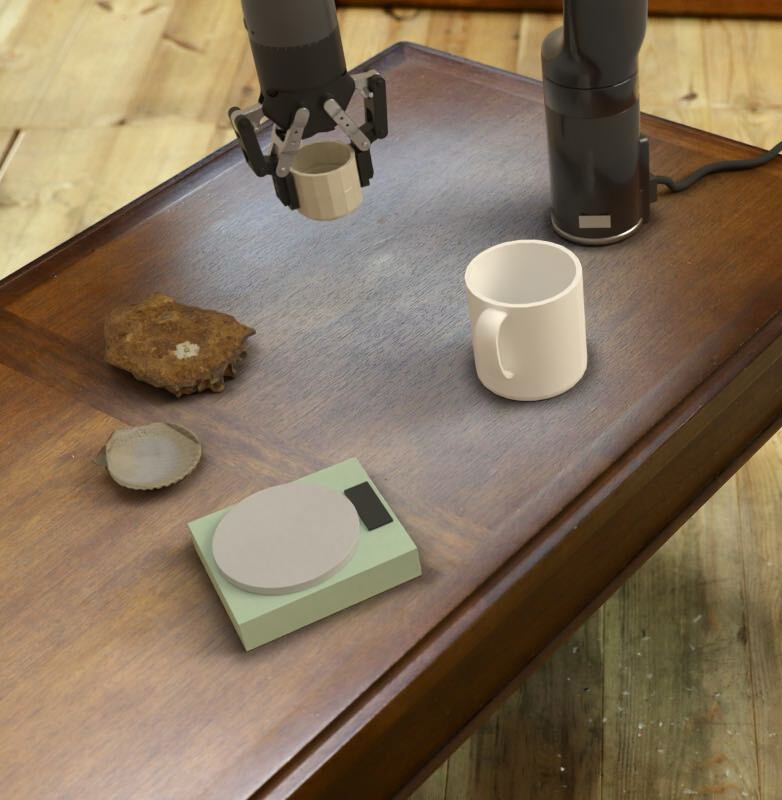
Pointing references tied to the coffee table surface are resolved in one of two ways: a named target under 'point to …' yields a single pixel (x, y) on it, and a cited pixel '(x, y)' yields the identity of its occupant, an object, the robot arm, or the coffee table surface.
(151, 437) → the seashell
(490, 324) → the mug
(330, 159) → the beige faceted cup
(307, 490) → the kitchen scale
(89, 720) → the coffee table surface
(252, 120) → the robot arm
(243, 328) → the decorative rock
